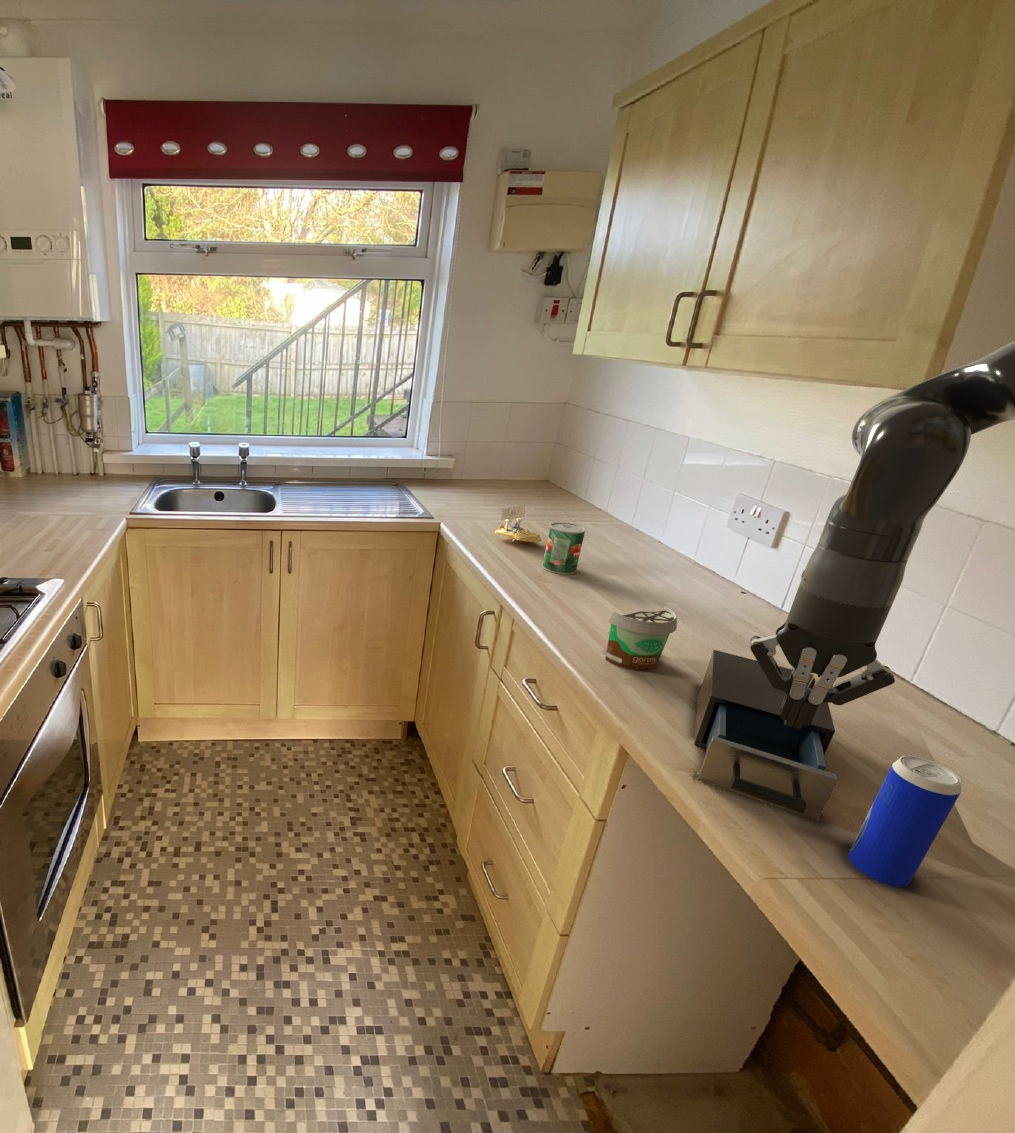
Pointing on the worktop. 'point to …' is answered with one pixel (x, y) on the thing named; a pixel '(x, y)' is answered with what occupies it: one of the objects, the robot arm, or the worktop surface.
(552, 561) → the canned tomato
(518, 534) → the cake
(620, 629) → the food container
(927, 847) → the beverage can
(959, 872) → the worktop surface
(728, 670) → the cabinet
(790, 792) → the drawer
